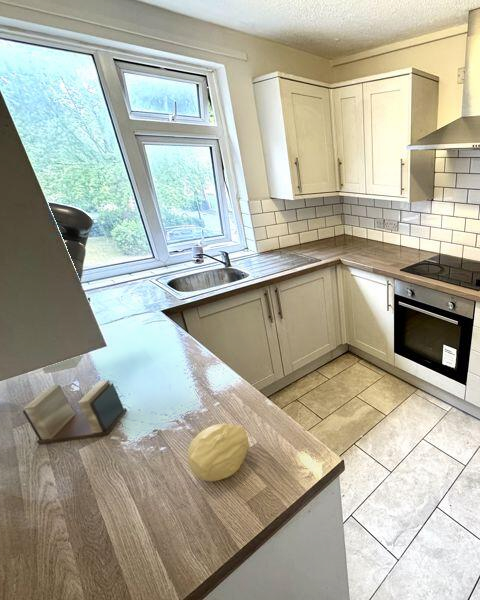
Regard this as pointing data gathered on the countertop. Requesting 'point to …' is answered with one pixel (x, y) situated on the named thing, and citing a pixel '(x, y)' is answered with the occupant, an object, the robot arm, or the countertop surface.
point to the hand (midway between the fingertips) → (47, 335)
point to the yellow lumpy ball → (218, 451)
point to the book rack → (65, 423)
